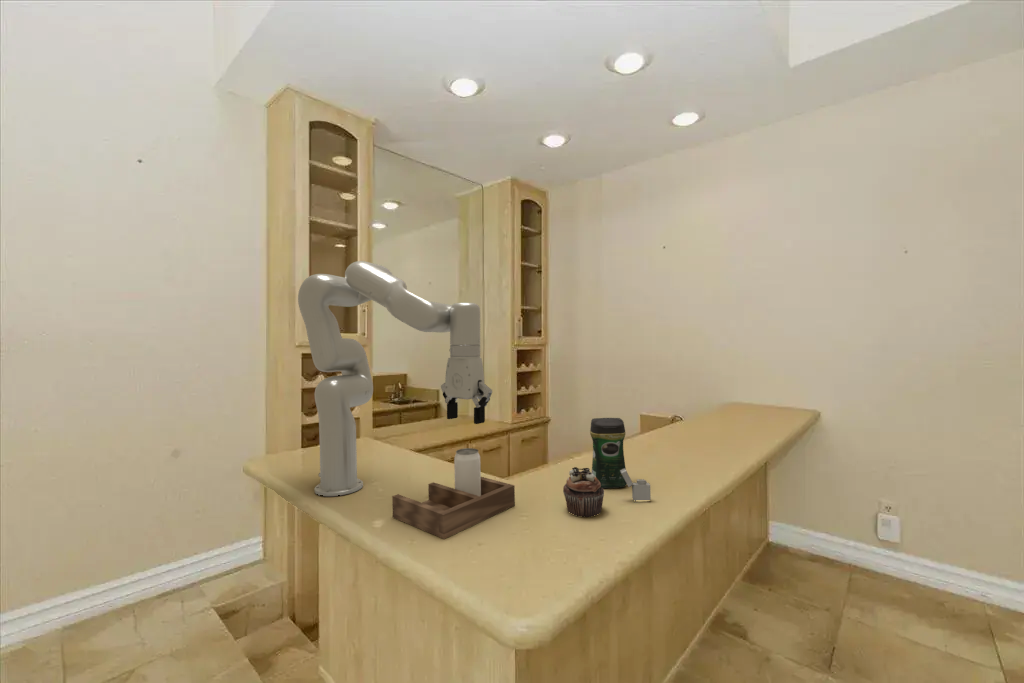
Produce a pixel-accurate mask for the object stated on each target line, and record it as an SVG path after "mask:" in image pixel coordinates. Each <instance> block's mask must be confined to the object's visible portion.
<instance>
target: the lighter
mask: <svg viewBox="0 0 1024 683" xmlns="http://www.w3.org/2000/svg"><path fill="white" fill-rule="evenodd" d="M626 469H627V468H626ZM626 469H625V468H624V469H622V470H620V472H621V474H622V476H623V477H624V479H625V481H626V483H627V485H626V486H627V487H628V488H630V487H631V488H632V489H631V490H632V491H631V494H632V495H631V496H632V497H631V498H633V500H635V501H636V500H651V499H652V497H651V496H652V495H651V484H650V483H649V482H648V481H647V480H646V479H644V478H643V479H642V478H641V479H640V478H639V479H638V478H637V479H636V482H633V481H632V479H631V477H630V475H629V473H628V471H627V470H626ZM633 500H632V501H633Z"/></svg>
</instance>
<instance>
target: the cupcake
mask: <svg viewBox="0 0 1024 683" xmlns="http://www.w3.org/2000/svg"><path fill="white" fill-rule="evenodd" d="M580 470H581V471H580ZM568 474H569V476H568V478H567V479H566V481H565V482H566V483H565V484H564V486H563V491H562V492H563V493H562V494H563V496H564V499H565V504H566V509H567V511H568V513H569V512H570V513H572V514H574V515H577V516H576V517H578V516H582V517H581V518H592V517H591V516H594V515H597V514H599V513H600V514H601V512H602V510H603V509H602V508H603V501H604V496H605V488H601V483H600V482H599V480H598V479H597V478H596V477H595V475H593V474H592V471H591V470H590V468H589V467H583V468H579V467H575V466H574V467H572V469H570V470H569V473H568ZM570 513H569V514H570ZM572 514H571V515H572ZM600 514H599V515H600ZM574 515H573V516H574ZM584 516H585V517H584ZM597 516H598V515H597ZM594 517H595V516H594Z"/></svg>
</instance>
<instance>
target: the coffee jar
mask: <svg viewBox="0 0 1024 683" xmlns="http://www.w3.org/2000/svg"><path fill="white" fill-rule="evenodd" d="M589 429H590V430H589V433H590V438H591V440H592V464H591V473H592V474H593V475H595V477H596V478H597V479H598V480H599V482H600V483H601V488H602V489H617V488H619V487H620V488H625V487H626V486H628V485H627V483H626V481H625V479H624V477H623V476H622V474H621V472H620V470H622V469H624V468H625V469H627V468H626V463H625V462H626V461H625V460H626V459H625V455H624V452H625V451H624V440H625V437H626V427H625V422H624V420H623V419H622V418H620V417H597V418H592V419H591V421H590V428H589Z"/></svg>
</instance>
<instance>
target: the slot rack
mask: <svg viewBox="0 0 1024 683" xmlns="http://www.w3.org/2000/svg"><path fill="white" fill-rule="evenodd" d="M427 485H428V499H427V500H425V501H422V502H421V501H418V500H416V499H413V498H411V497H407V496H405V495H402V494H399V493H398V494H395V495H392V496H391V498H392V505H391V506H392V518H393V517H394V518H393V519H395V518H396V519H395V520H397V519H398V520H397V521H400V522H402V521H403V523H404V522H405V524H407V525H410V526H412V527H414V528H417V529H419V530H422V531H423V532H425V533H428V534H430V535H433V536H436V537H438V538H440V539H442V540H445V539H448V538H450V537H451V536H453V535H456V534H458V533H460V532H462V531H465V530H467V529H469V528H471V527H473V526H475V525H477V524H479V523H481V522H484V521H485V520H488V519H490V518H492V517H494V516H496V515H498V514H500V513H502V512H504V511H506V510H509V509H512V508H514V507H515V506H516V502H515V501H516V497H515V496H516V495H515V494H516V493H515V489H516V488H515V486H516V485H514V484H512V483H507V482H503V481H500V480H499V481H498V480H495V479H492V478H488V477H484V476H481V496H477V495H474V494H470V493H467V492H464V491H460V490H457V489H455V487H450V486H447V485H443V484H440V483H437V482H434V481H433V482H430V483H428V484H427Z"/></svg>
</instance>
